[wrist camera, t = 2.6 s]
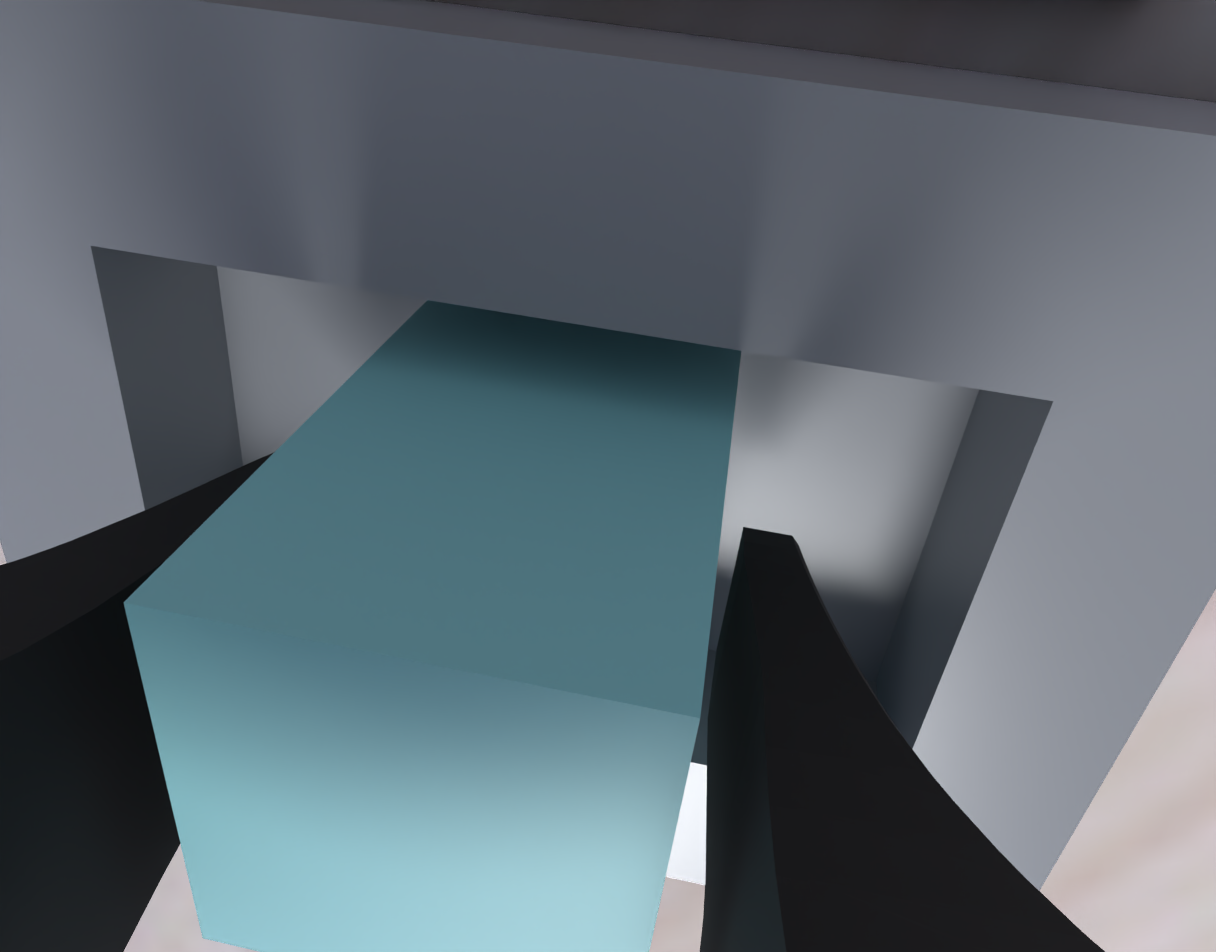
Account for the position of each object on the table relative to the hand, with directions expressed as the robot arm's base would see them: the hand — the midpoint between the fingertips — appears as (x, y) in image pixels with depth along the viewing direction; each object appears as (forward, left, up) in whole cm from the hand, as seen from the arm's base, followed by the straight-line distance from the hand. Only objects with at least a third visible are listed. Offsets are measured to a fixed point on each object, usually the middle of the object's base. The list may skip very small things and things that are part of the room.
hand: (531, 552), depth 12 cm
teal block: (0, 0, -2) cm, 2 cm away
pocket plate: (0, 0, -3) cm, 3 cm away
